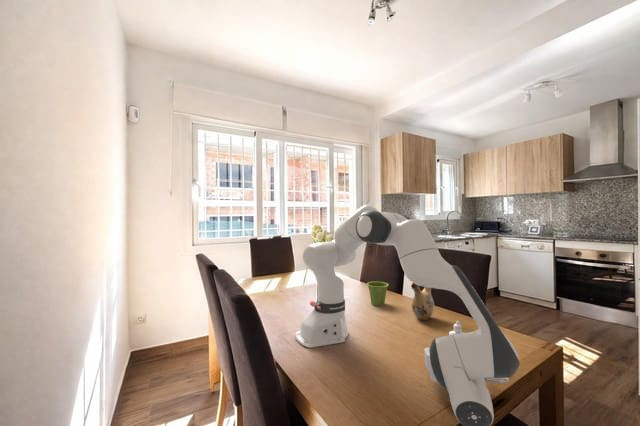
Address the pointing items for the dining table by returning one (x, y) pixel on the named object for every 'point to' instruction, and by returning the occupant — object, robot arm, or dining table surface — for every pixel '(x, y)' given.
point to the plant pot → (377, 292)
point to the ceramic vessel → (422, 302)
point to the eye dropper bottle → (456, 329)
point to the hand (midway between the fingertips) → (459, 350)
